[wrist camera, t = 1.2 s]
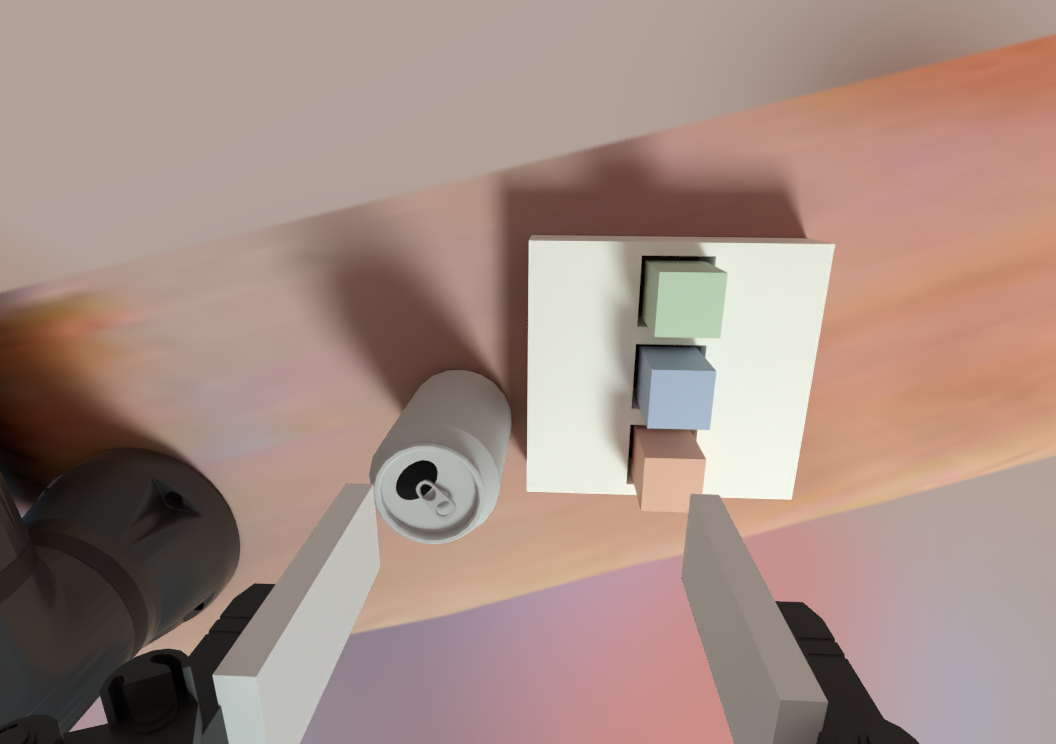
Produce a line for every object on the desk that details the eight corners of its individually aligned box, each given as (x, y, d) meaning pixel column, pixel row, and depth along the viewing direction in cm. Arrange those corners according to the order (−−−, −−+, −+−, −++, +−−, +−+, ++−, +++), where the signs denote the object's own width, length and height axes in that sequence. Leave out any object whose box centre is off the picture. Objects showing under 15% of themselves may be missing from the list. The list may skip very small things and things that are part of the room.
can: (456, 344, 41) (417, 406, 30) (533, 412, 42) (525, 496, 31) (391, 415, 43) (332, 499, 31) (467, 478, 44) (437, 579, 33)
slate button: (636, 398, 38) (647, 428, 34) (639, 346, 37) (652, 369, 32) (690, 399, 38) (709, 429, 33) (695, 347, 37) (716, 371, 32)
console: (529, 464, 44) (526, 491, 40) (531, 234, 38) (528, 240, 34) (770, 471, 43) (791, 499, 39) (806, 238, 38) (835, 244, 34)
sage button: (641, 317, 37) (654, 337, 32) (645, 260, 36) (659, 271, 31) (698, 318, 36) (720, 338, 32) (704, 260, 35) (727, 273, 31)
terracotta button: (630, 472, 40) (640, 510, 35) (634, 424, 39) (645, 457, 34) (683, 473, 40) (700, 512, 35) (687, 425, 39) (706, 459, 34)
